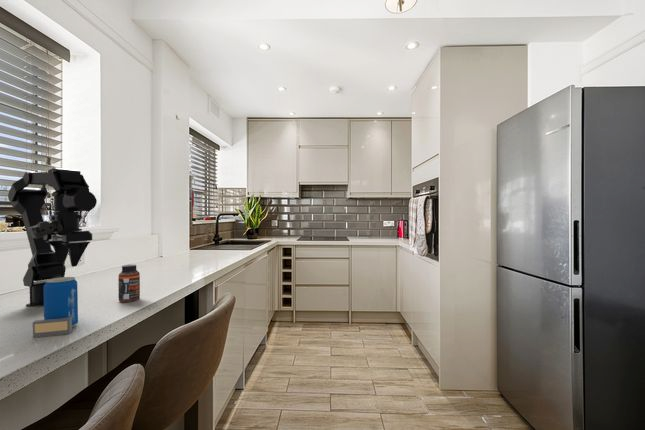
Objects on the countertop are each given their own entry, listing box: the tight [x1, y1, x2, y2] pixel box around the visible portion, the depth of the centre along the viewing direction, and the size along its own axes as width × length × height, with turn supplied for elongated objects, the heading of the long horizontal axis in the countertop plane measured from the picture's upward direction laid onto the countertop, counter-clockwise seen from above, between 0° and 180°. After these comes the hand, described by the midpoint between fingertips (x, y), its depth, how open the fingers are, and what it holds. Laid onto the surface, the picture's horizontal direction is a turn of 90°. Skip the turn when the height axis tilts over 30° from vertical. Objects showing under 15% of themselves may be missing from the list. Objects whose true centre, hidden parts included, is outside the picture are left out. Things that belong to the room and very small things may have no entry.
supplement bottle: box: [117, 264, 141, 303], centre depth 105 cm, size 6×6×11 cm
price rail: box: [32, 317, 73, 338], centre depth 76 cm, size 7×1×4 cm, turn 107°
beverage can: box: [43, 276, 79, 328], centre depth 80 cm, size 6×6×12 cm
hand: (67, 265), depth 96 cm, fingers open, 9 cm apart
